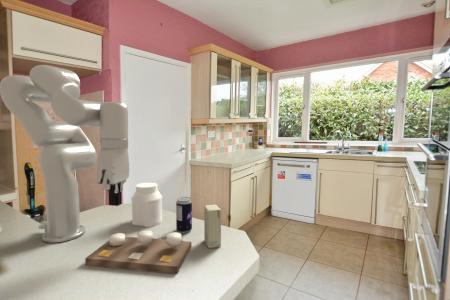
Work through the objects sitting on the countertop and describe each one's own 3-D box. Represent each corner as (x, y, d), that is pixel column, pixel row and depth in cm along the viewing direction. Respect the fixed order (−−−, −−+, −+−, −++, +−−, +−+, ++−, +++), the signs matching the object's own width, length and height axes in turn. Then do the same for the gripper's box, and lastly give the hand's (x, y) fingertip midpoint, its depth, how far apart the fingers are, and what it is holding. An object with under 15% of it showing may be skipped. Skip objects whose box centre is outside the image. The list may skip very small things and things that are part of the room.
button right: (164, 244, 71) (164, 238, 71) (169, 238, 76) (169, 231, 75) (178, 246, 71) (178, 239, 70) (183, 239, 75) (183, 232, 75)
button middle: (134, 242, 72) (134, 236, 72) (141, 236, 77) (141, 229, 76) (148, 243, 72) (148, 237, 72) (155, 237, 76) (155, 230, 76)
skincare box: (221, 247, 79) (221, 209, 77) (208, 248, 77) (208, 211, 76) (216, 238, 85) (216, 203, 84) (203, 239, 84) (204, 204, 82)
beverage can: (188, 234, 87) (188, 201, 86) (173, 233, 88) (173, 200, 87) (194, 228, 93) (194, 197, 92) (179, 226, 94) (179, 196, 93)
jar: (127, 224, 96) (126, 186, 94) (142, 215, 105) (142, 181, 103) (152, 228, 92) (152, 189, 91) (166, 219, 101) (166, 183, 100)
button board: (85, 265, 67) (85, 257, 67) (114, 241, 81) (114, 235, 81) (177, 273, 64) (177, 265, 64) (191, 247, 78) (191, 241, 78)
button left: (106, 245, 74) (106, 239, 73) (114, 238, 78) (114, 232, 78) (120, 246, 73) (120, 240, 73) (127, 239, 77) (127, 233, 77)
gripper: (116, 142, 80) (117, 196, 82) (85, 146, 66) (87, 212, 68) (138, 143, 80) (138, 198, 81) (111, 147, 65) (112, 214, 67)
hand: (115, 204), depth 75 cm, fingers closed
